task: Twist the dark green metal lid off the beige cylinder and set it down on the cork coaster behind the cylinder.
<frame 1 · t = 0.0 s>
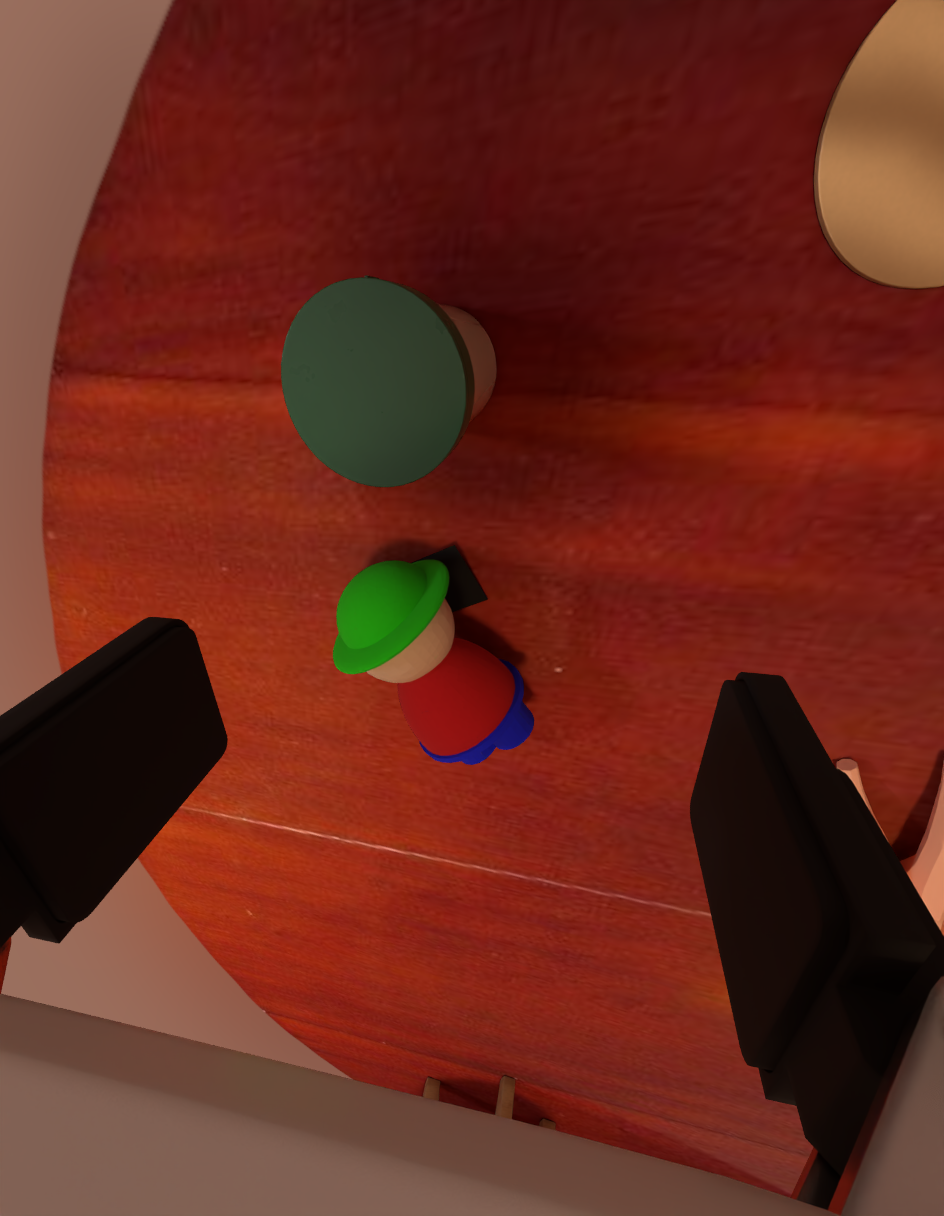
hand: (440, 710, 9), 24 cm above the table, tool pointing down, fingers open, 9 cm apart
toy figure: (449, 630, 37), on the table
male figurine: (884, 870, 40), on the table
beige cylinder: (441, 369, 29), on the table
planter: (490, 1099, 73), on the table
jar lid: (374, 390, 19), point 11 cm above the table, screwed on, not yet turned
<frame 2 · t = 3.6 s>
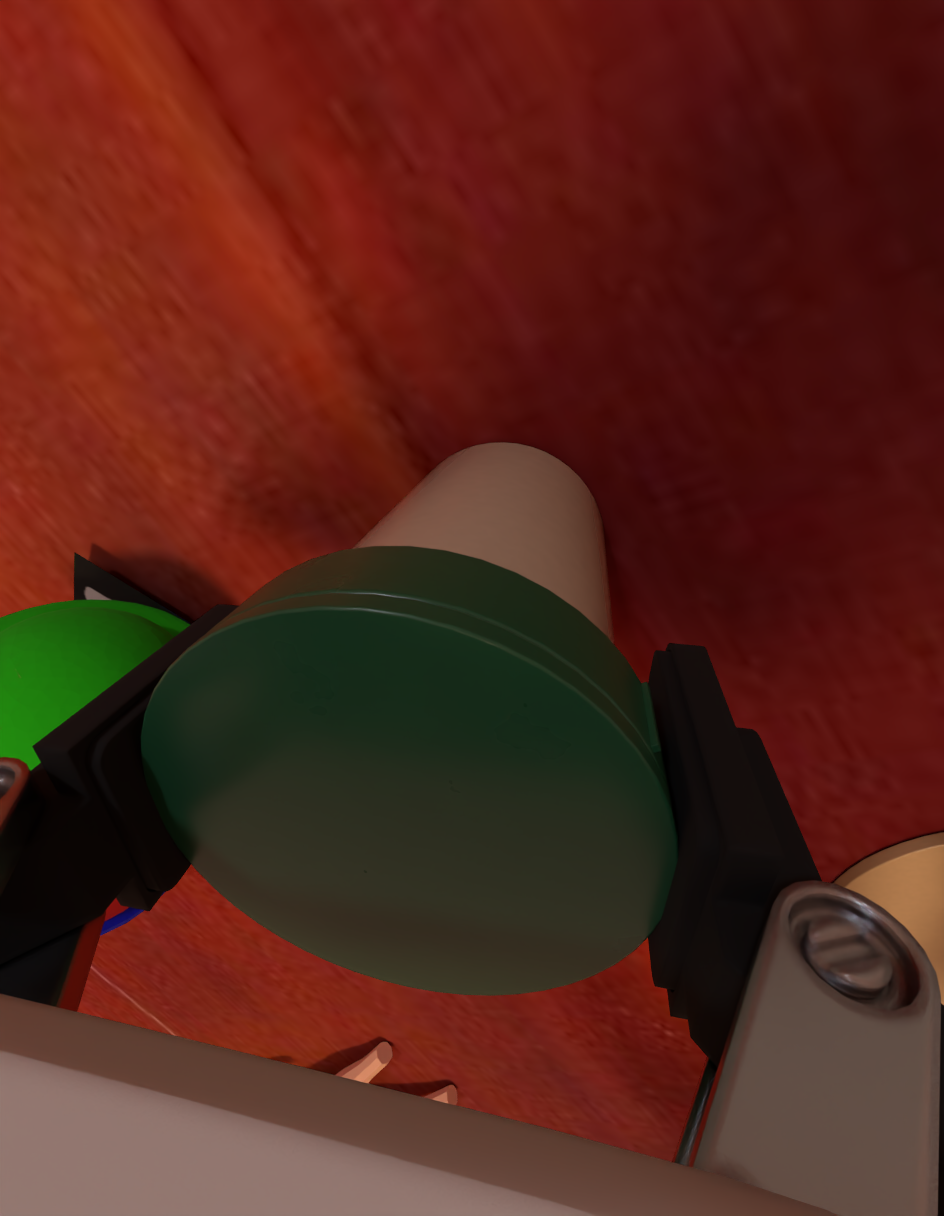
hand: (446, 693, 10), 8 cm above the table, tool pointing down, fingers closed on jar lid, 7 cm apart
toy figure: (169, 701, 23), on the table
male figurine: (325, 1086, 41), on the table
beige cylinder: (502, 543, 16), on the table
jar lid: (399, 823, 7), point 11 cm above the table, screwed on, not yet turned, touching gripper
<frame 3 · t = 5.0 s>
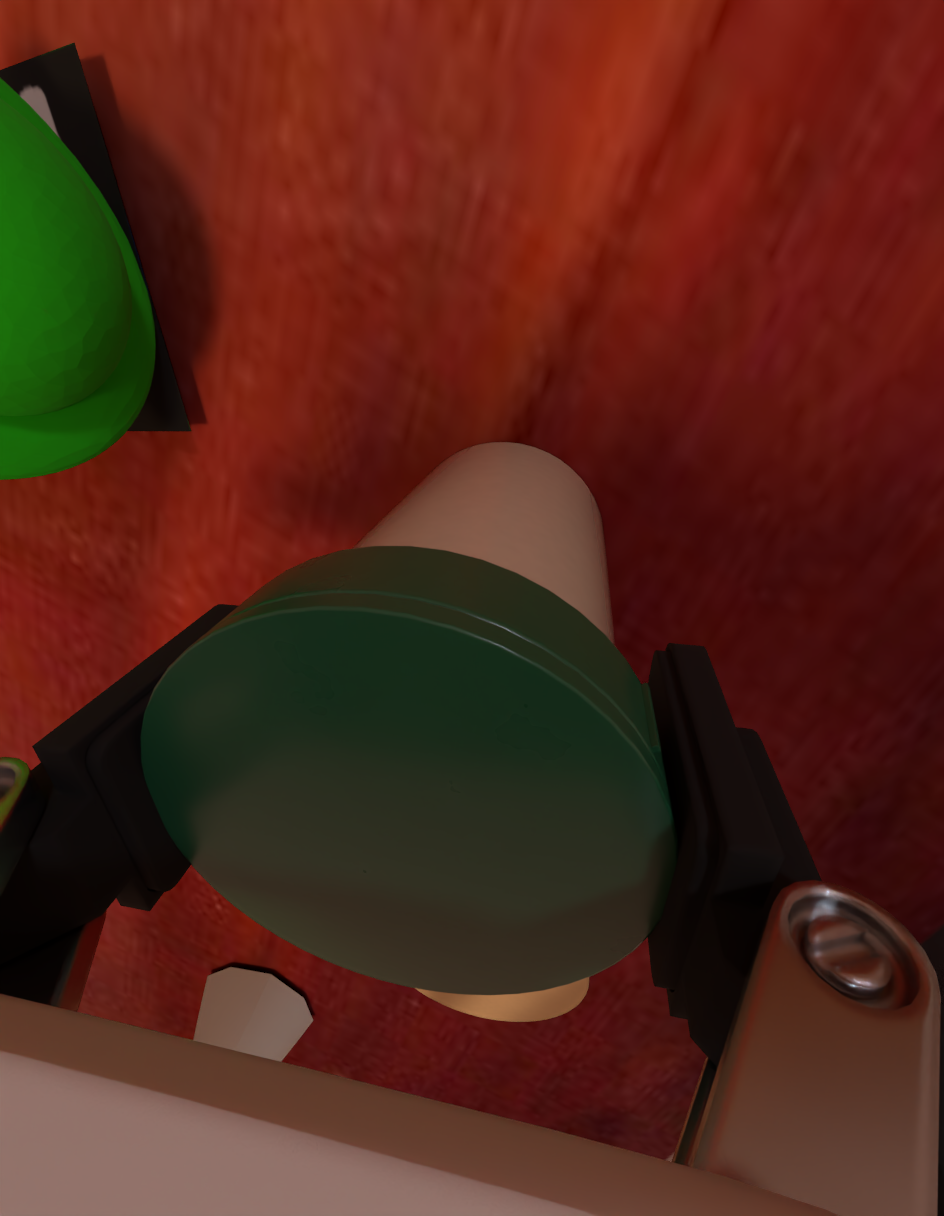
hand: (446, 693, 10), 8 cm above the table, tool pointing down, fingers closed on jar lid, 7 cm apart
toy figure: (4, 302, 16), on the table
coaster: (484, 956, 28), on the table
beige cylinder: (502, 542, 16), on the table
flask: (264, 990, 35), on the table
jar lid: (399, 823, 7), point 11 cm above the table, turned 54° so far, risen 0.1 cm, still on its thread, touching gripper
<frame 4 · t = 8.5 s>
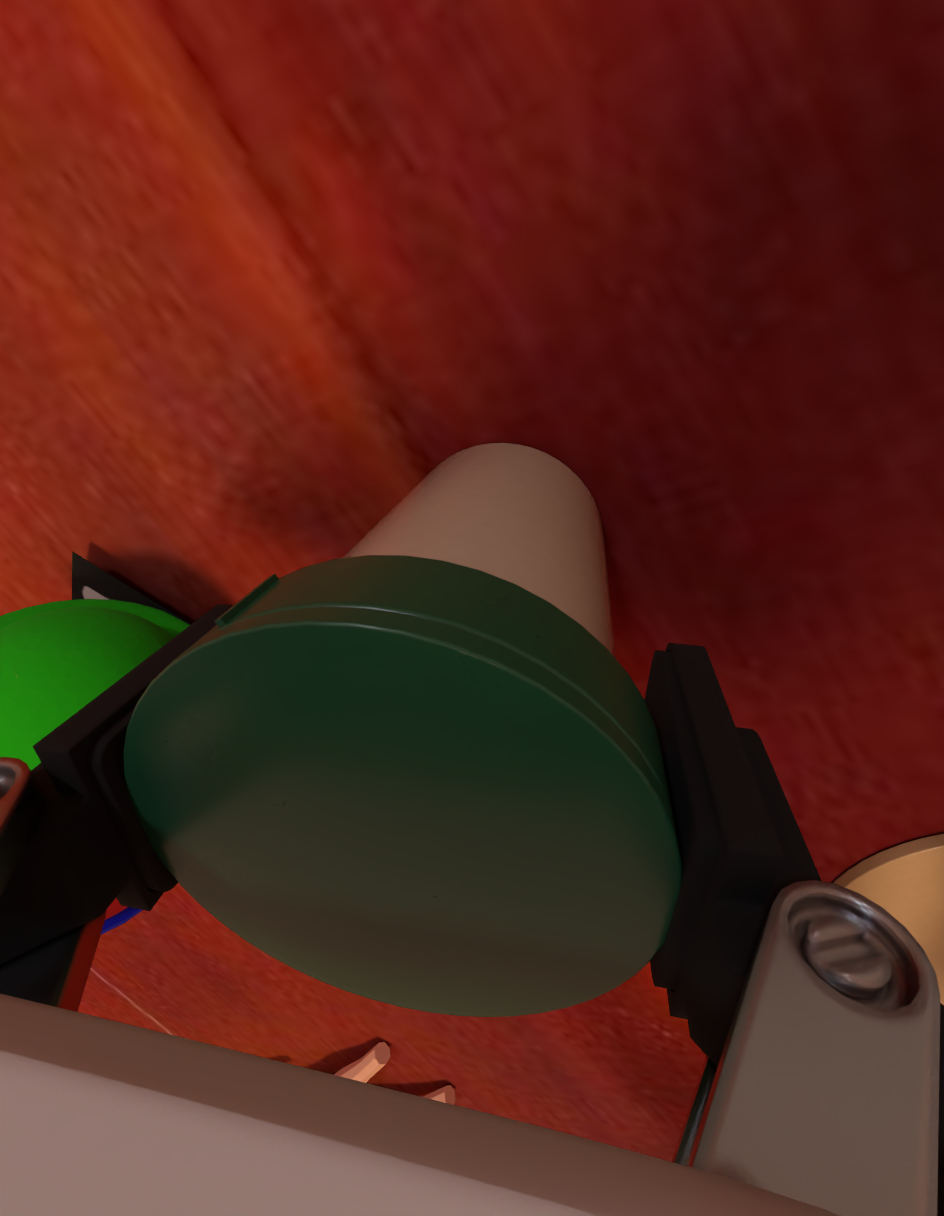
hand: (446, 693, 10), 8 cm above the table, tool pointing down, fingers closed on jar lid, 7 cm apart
toy figure: (167, 701, 23), on the table
male figurine: (323, 1086, 41), on the table
beige cylinder: (501, 544, 16), on the table
jar lid: (392, 842, 7), point 11 cm above the table, turned 90° so far, risen 0.2 cm, still on its thread, touching gripper
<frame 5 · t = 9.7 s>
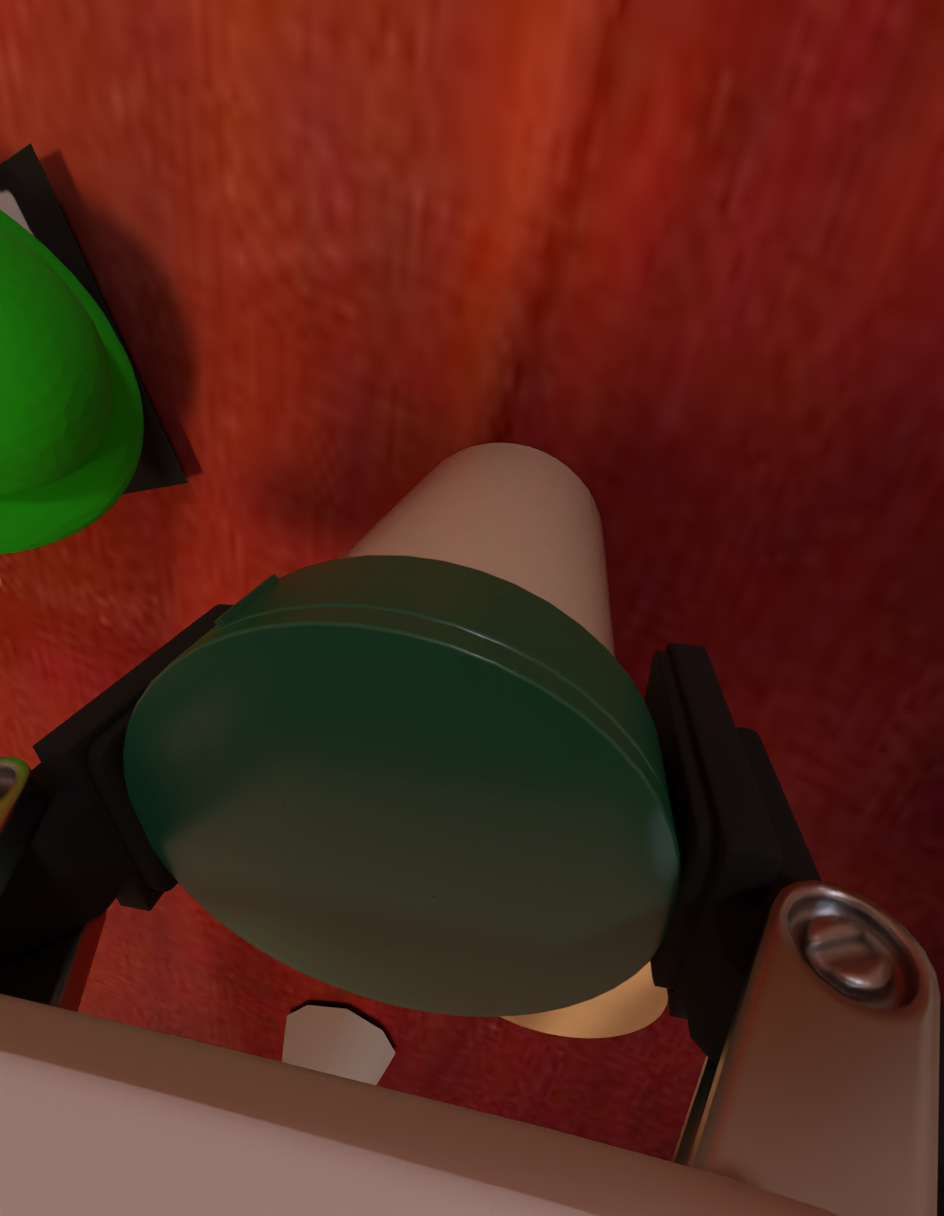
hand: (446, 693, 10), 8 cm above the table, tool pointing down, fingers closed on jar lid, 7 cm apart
toy figure: (9, 392, 17), on the table
coaster: (555, 971, 27), on the table
beige cylinder: (501, 544, 16), on the table
flask: (343, 1025, 35), on the table
jar lid: (392, 842, 7), point 11 cm above the table, off its thread, touching gripper
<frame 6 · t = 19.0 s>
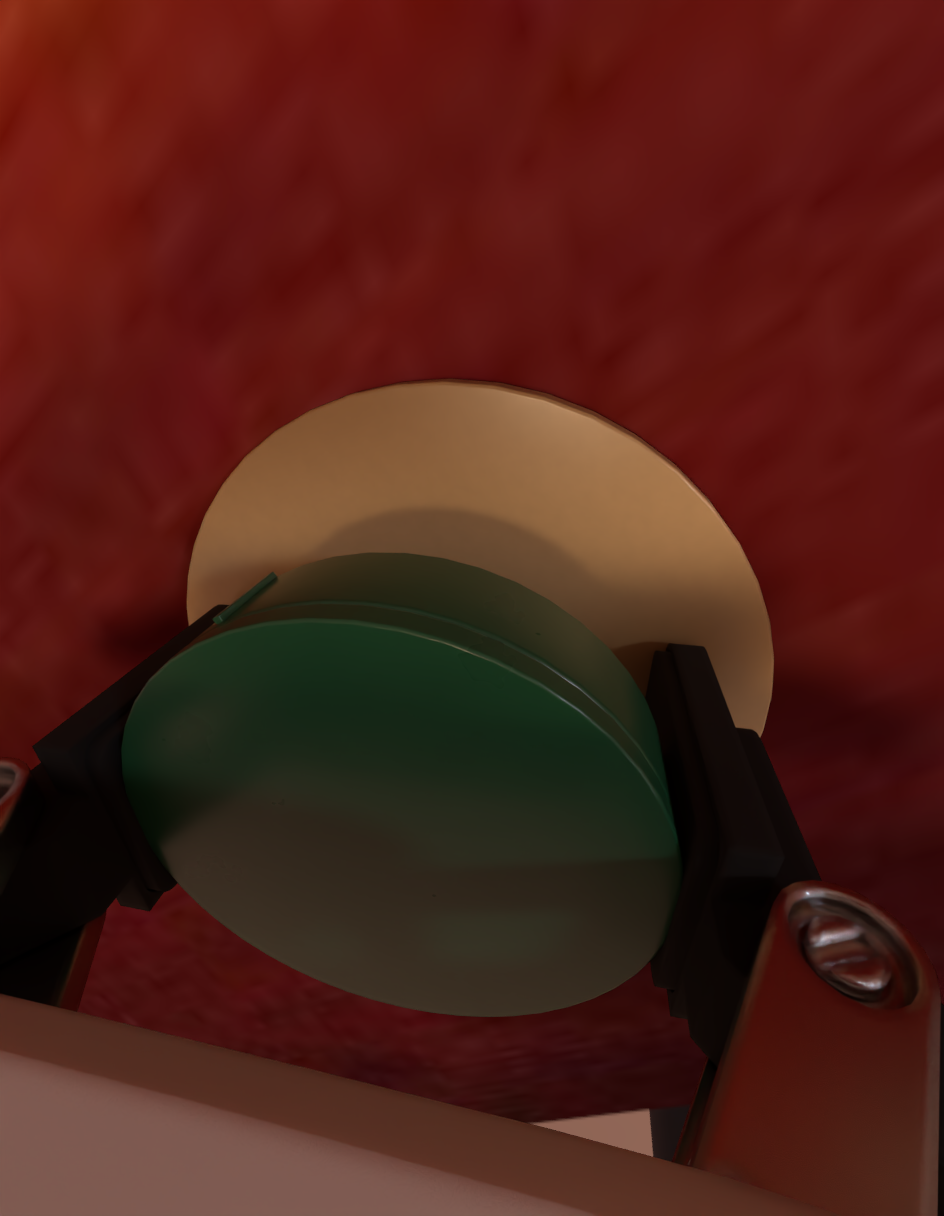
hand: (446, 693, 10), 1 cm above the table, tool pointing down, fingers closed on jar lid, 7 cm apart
coaster: (459, 680, 10), on the table
jar lid: (391, 841, 7), point 4 cm above the table, off its thread, touching gripper
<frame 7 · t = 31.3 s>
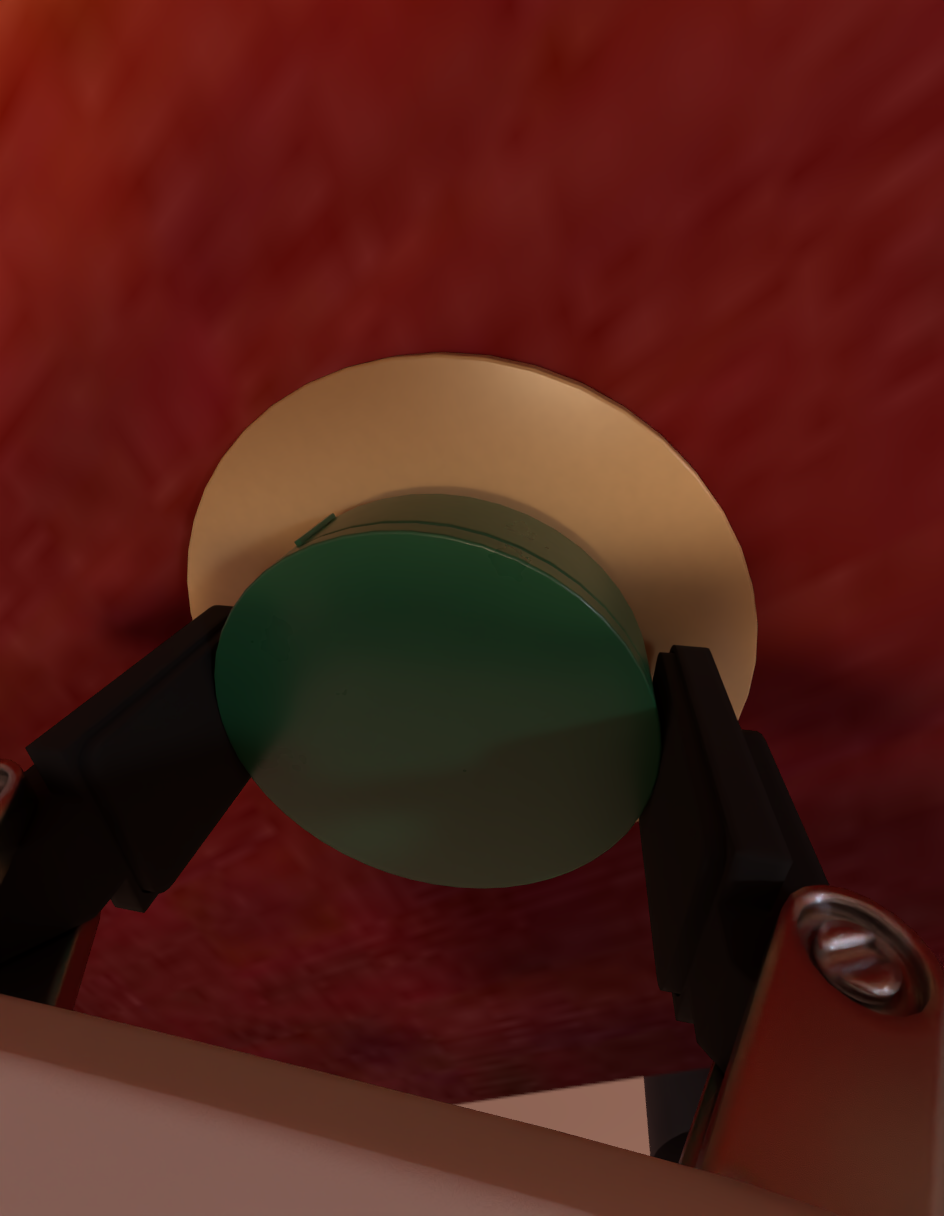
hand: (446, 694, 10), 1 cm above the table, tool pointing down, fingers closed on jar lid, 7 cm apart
coaster: (454, 652, 11), on the table
jar lid: (429, 730, 9), point 2 cm above the table, off its thread, touching gripper
when the fingers open (2 cm above the table, at t = 31.5 s): jar lid drops 1 cm, resting on coaster.
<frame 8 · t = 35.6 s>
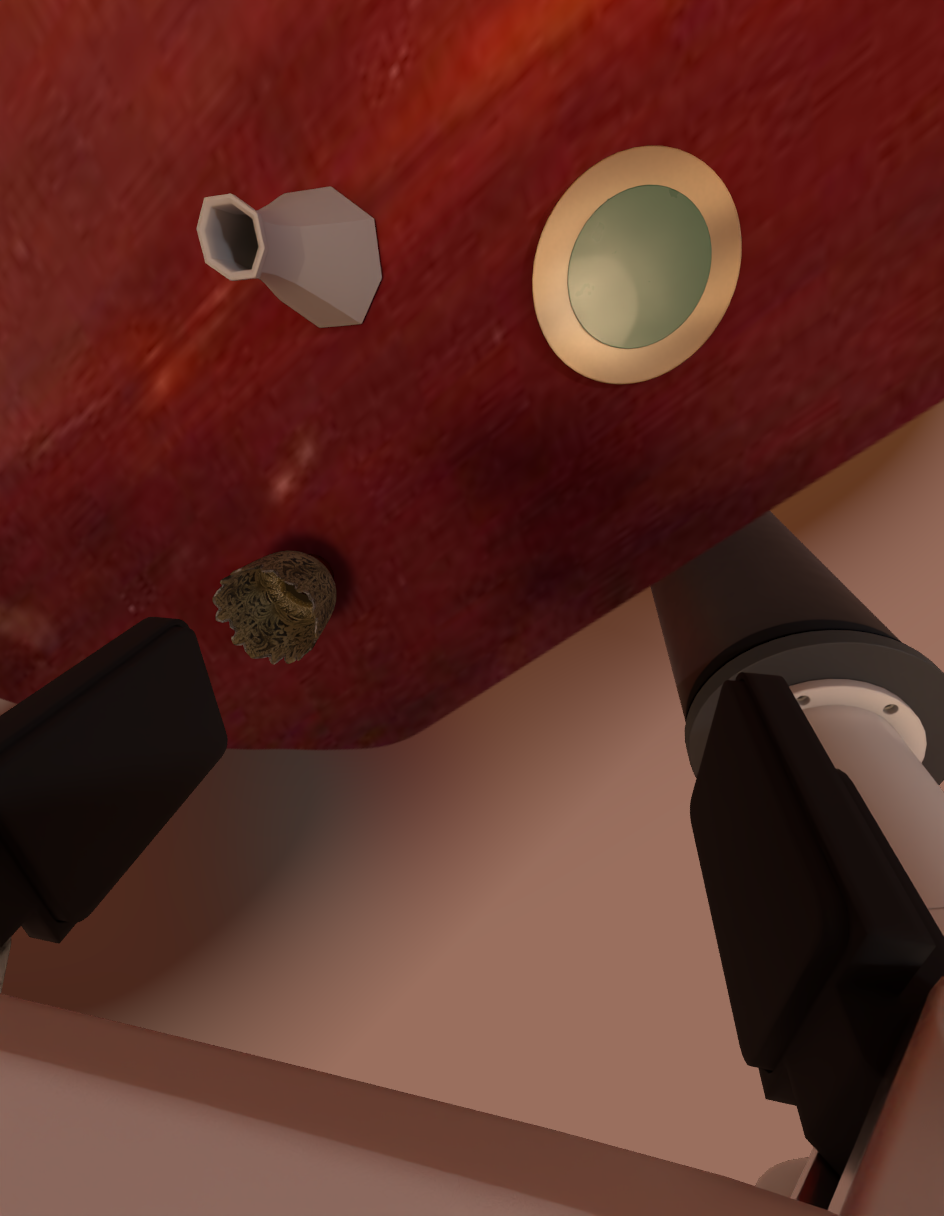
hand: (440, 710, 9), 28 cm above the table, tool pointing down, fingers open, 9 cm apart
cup: (317, 570, 42), on the table
coaster: (631, 276, 29), on the table
flask: (328, 262, 32), on the table
jar lid: (636, 272, 27), point 2 cm above the table, off its thread, touching coaster
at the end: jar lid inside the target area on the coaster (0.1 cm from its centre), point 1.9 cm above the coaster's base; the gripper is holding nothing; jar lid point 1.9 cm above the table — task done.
